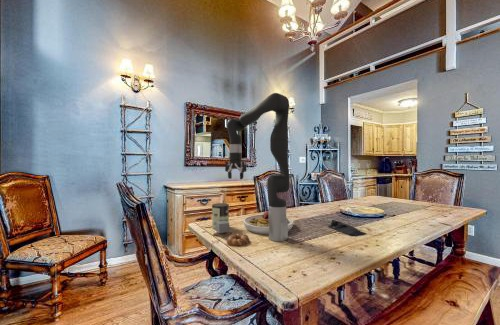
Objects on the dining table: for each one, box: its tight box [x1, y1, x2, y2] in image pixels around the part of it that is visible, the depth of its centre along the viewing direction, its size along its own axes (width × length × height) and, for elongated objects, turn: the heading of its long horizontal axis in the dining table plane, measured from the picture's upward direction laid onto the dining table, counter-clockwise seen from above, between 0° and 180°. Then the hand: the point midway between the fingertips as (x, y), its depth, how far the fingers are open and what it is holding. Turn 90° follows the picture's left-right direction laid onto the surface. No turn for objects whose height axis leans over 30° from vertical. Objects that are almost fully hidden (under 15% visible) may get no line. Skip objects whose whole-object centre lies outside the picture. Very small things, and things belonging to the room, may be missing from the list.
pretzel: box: [226, 233, 250, 247], centre depth 114 cm, size 12×11×4 cm
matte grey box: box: [215, 220, 230, 233], centre depth 126 cm, size 6×6×5 cm
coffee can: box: [211, 202, 230, 231], centre depth 139 cm, size 10×10×14 cm
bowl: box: [243, 210, 294, 235], centre depth 138 cm, size 30×30×8 cm
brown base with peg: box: [212, 231, 232, 238], centre depth 126 cm, size 7×7×6 cm
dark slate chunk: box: [327, 219, 368, 237], centre depth 132 cm, size 15×22×5 cm
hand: (235, 178), depth 138 cm, fingers open, 8 cm apart
